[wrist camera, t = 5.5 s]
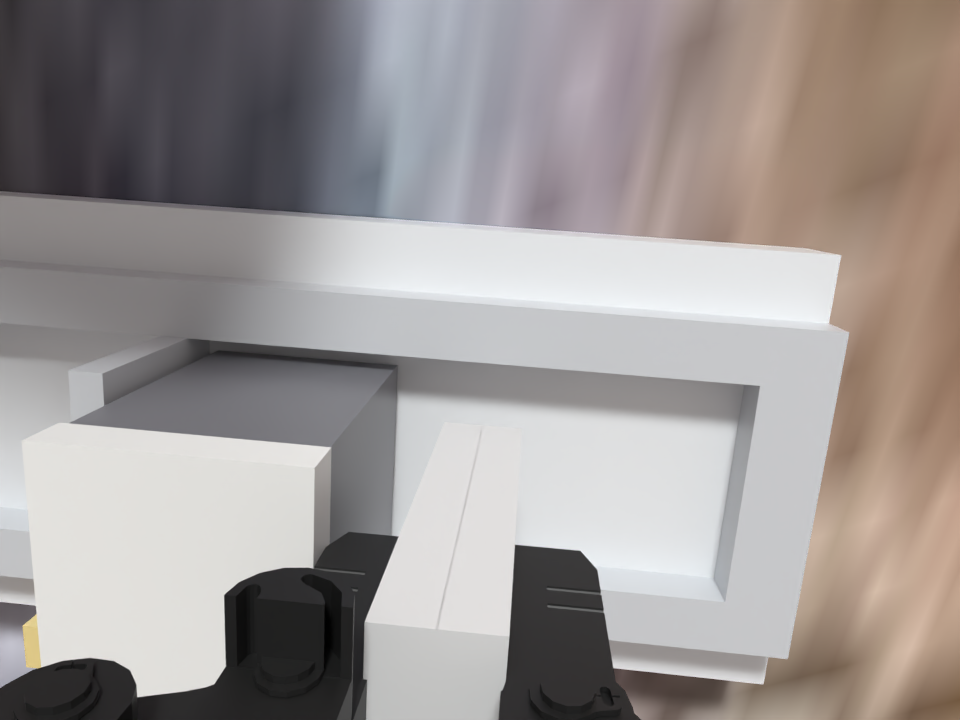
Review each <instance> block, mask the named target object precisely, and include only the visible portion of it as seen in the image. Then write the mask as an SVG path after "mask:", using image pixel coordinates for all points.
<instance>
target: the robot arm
mask: <svg viewBox="0 0 960 720" xmlns="http://www.w3.org/2000/svg"><path fill="white" fill-rule="evenodd" d="M521 436H522V428H510V427H498V426H486V425H474V424H462V423H450V422H444V424H443V427H442V429H441V432H440V434H439V437H438V439H437V442H436V444H435V447H434V449H433V452H432V454H431V457H430V459H429V462H428V464H427V467H426V469H425V472H424V474H423V477H422V480H421V482H420V485H419V487H418V490H417V492H416V495H415V497H414V500H413V502H412V505H411V507H410V510H409V512H408V515H407V517H406V520H405V522H404V525H403V527H402V530H401V532H400V535H399V536H389V535H379V534H368V533H357V532H348V533H346V534H345V535H343V536H342V537H340V538H339V539H337V540H336V541H334V542H332V543H331V544H329V545H328V546H326V547H325V549H324V551H323V552H322V554H321V556H320V557H319V559H318V561H317V563H316V564H315V566H314V569H313V568H281V569H276V570H271V571H266V572H261V573H258V574H256V575H254V576H252V577H249V578H247V579H245V580H243V581H240V582H239V583H237V584H236V585H235V586H234V587H233V588H232V589H230V590H229V591H228V592H227V593H226V594H225V595H224V614H225V655H226V667H225V668H224V670H223V672H222V673H221V675H220V676H219V678H218V679H217V681H216V682H215V684H214V685H211V686H208V687H204V688H199V689H194V690H189V691H184V692H176V693H168V694H160V695H151V696H143V697H137V685H136V682H135V680H134V678H133V676H132V673H131V671H130V670H129V669H127V668H125V667H124V666H122V665H120V664H118V663H117V662H115V661H111V660H103V659H96V658H84V659H75V660H65V661H60V662H57V663H54V664H51V665H48V666H44V667H41V668H38V669H35V670H32V671H30V672H28V673H27V674H25V675H23V676H21V677H19V678H17V679H15V680H13V681H12V682H10V683H8V684H6V685H5V686H3V687H2V688H0V720H641V719H640V718H639V717H638V716H636V715H635V714H634V711H633V707H632V705H631V703H630V701H629V699H628V696H627V694H626V692H625V690H623V689H622V688H621V687H620V686H619V685H618V684H617V683H616V682H615V675H614V669H613V663H612V657H611V651H610V645H609V638H608V632H607V626H606V620H605V614H604V608H603V601H602V595H601V589H600V583H599V577H598V570H597V569H596V568H595V567H594V565H593V564H592V563H591V562H590V561H589V560H588V559H587V558H586V556H585V555H584V554H583V553H582V552H581V551H578V550H567V549H556V548H546V547H535V546H524V545H515V535H516V519H517V502H518V486H519V469H520V452H521Z"/></svg>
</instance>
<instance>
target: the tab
mask: <svg viewBox="0 0 960 720" xmlns="http://www.w3.org/2000/svg"><path fill="white" fill-rule="evenodd" d="M397 374H398V365H389V364H377V363H365V362H353V361H341V360H329V359H318V358H306V357H294V356H282V355H270V354H258V353H246V352H234V351H222V350H218V351H216V352H214V353H212V354H210V355H208V356H205V357H203V358H201V359H199V360H197V361H195V362H193V363H191V364H189V365H187V366H185V367H183V368H181V369H179V370H177V371H175V372H173V373H171V374H169V375H167V376H164V377H162V378H160V379H158V380H156V381H154V382H152V383H150V384H148V385H146V386H144V387H142V388H140V389H138V390H136V391H134V392H132V393H130V394H128V395H126V396H123V397H121V398H119V399H117V400H115V401H113V402H111V403H109V404H107V405H105V406H103V407H101V408H99V409H97V410H95V411H93V412H91V413H89V414H87V415H85V416H82V417H80V418H78V419H76V420H74V421H72V422H70V423H57V424H55V425H53V426H51V427H49V428H47V429H45V430H43V431H41V432H39V433H36V434H34V435H32V436H30V437H28V438H26V439H24V440H22V452H23V463H24V475H25V486H26V498H27V509H28V521H29V532H30V544H31V555H32V567H33V579H34V590H35V602H36V613H37V625H38V636H39V648H40V659H41V667H44V666H48V665H51V664H54V663H57V662H60V661H65V660H75V659H84V658H96V659H103V660H111V661H115V662H117V663H118V664H120V665H122V666H124V667H125V668H127V669H129V670H130V671H131V673H132V676H133V678H134V680H135V682H136V685H137V697H143V696H151V695H160V694H168V693H176V692H184V691H189V690H194V689H199V688H204V687H208V686H211V685H214V684H215V682H216V681H217V679H218V678H219V676H220V675H221V673H222V672H223V670H224V668H225V667H226V655H225V614H224V595H225V594H226V593H227V592H228V591H229V590H230V589H232V588H233V587H234V586H235V585H236V584H237V583H239V582H240V581H243V580H245V579H247V578H249V577H252V576H254V575H256V574H258V573H261V572H266V571H271V570H276V569H281V568H313V569H314V566H315V564H316V563H317V561H318V559H319V557H320V556H321V554H322V552H323V551H324V549H325V547H326V546H328V545H329V544H331V543H332V542H334V541H336V540H337V539H339V538H340V537H342V536H343V535H345V534H346V533H348V532H357V533H368V534H379V535H389V536H390V535H391V522H392V497H393V473H394V448H395V424H396V399H397Z"/></svg>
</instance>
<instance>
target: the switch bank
mask: <svg viewBox="0 0 960 720" xmlns="http://www.w3.org/2000/svg"><path fill="white" fill-rule="evenodd" d="M840 259H841V255H837V254H832V253H827V252H822V251H817V250H812V249H807V248H797V247H782V246H768V245H754V244H740V243H726V242H712V241H698V240H684V239H669V238H655V237H641V236H627V235H613V234H599V233H585V232H571V231H557V230H542V229H528V228H514V227H500V226H486V225H472V224H458V223H444V222H429V221H415V220H401V219H387V218H373V217H359V216H345V215H331V214H316V213H302V212H288V211H274V210H260V209H246V208H232V207H218V206H203V205H189V204H175V203H161V202H147V201H133V200H119V199H105V198H91V197H76V196H62V195H48V194H34V193H20V192H6V191H0V602H7V603H16V604H25V605H34V606H36V602H35V590H34V579H33V567H32V555H31V544H30V532H29V521H28V509H27V498H26V486H25V475H24V463H23V452H22V440H24V439H26V438H28V437H30V436H32V435H34V434H36V433H39V432H41V431H43V430H45V429H47V428H49V427H51V426H53V425H55V424H57V423H70V422H72V421H74V420H76V419H78V418H80V417H82V416H85V415H87V414H89V413H91V412H93V411H95V410H97V409H99V408H101V407H103V406H105V405H107V404H109V403H111V402H113V401H115V400H117V399H119V398H121V397H123V396H126V395H128V394H130V393H132V392H134V391H136V390H138V389H140V388H142V387H144V386H146V385H148V384H150V383H152V382H154V381H156V380H158V379H160V378H162V377H164V376H167V375H169V374H171V373H173V372H175V371H177V370H179V369H181V368H183V367H185V366H187V365H189V364H191V363H193V362H195V361H197V360H199V359H201V358H203V357H205V356H208V355H210V354H212V353H214V352H216V351H218V350H222V351H234V352H246V353H258V354H270V355H282V356H294V357H306V358H318V359H329V360H341V361H353V362H365V363H377V364H389V365H398V374H397V399H396V424H395V448H394V473H393V497H392V522H391V535H390V536H399V535H400V532H401V530H402V527H403V525H404V522H405V520H406V517H407V515H408V512H409V510H410V507H411V505H412V502H413V500H414V497H415V495H416V492H417V490H418V487H419V485H420V482H421V480H422V477H423V474H424V472H425V469H426V467H427V464H428V462H429V459H430V457H431V454H432V452H433V449H434V447H435V444H436V442H437V439H438V437H439V434H440V432H441V429H442V427H443V424H444V422H450V423H462V424H474V425H486V426H498V427H510V428H522V436H521V452H520V469H519V486H518V502H517V519H516V535H515V545H524V546H535V547H546V548H556V549H567V550H578V551H581V552H582V553H583V554H584V555H585V556H586V558H587V559H588V560H589V561H590V562H591V563H592V564H593V565H594V567H595V568H596V569H597V570H598V577H599V583H600V589H601V595H602V601H603V608H604V614H605V620H606V626H607V632H608V638H609V645H610V651H611V657H612V663H613V668H617V669H626V670H635V671H644V672H654V673H663V674H672V675H681V676H691V677H700V678H709V679H718V680H728V681H737V682H746V683H755V684H763V683H764V678H765V672H766V667H767V661H768V657H773V658H783V659H788V654H789V649H790V644H791V639H792V633H793V628H794V623H795V617H796V612H797V607H798V601H799V596H800V591H801V586H802V580H803V575H804V570H805V564H806V559H807V554H808V548H809V543H810V538H811V532H812V527H813V522H814V517H815V511H816V506H817V501H818V495H819V490H820V485H821V479H822V474H823V469H824V464H825V458H826V453H827V448H828V442H829V437H830V432H831V426H832V421H833V416H834V411H835V405H836V400H837V395H838V389H839V384H840V379H841V373H842V368H843V363H844V358H845V352H846V347H847V342H848V336H849V332H847V331H845V330H842V329H840V328H838V327H836V326H833V325H831V324H829V319H830V314H831V308H832V303H833V297H834V292H835V286H836V281H837V275H838V270H839V264H840ZM23 636H24V646H25V657H26V667H31V668H41V659H40V648H39V636H38V625H37V614H36V615H35V616H34V617H33V618H31V619H30V620H29V621H28V622H27V623H25V624H24V625H23Z"/></svg>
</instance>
